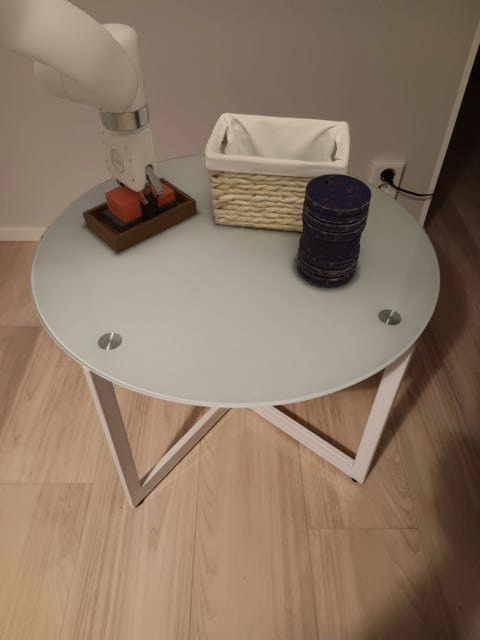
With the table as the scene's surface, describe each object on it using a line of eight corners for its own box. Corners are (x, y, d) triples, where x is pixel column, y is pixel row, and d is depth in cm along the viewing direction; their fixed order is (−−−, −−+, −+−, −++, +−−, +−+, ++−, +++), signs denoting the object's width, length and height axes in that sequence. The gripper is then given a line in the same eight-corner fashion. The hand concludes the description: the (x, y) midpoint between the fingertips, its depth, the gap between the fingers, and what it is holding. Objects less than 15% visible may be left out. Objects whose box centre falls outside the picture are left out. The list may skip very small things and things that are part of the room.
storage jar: (367, 275, 84) (386, 198, 73) (319, 296, 81) (332, 218, 70) (330, 243, 90) (343, 167, 79) (284, 261, 87) (291, 184, 76)
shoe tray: (117, 253, 88) (114, 239, 86) (85, 226, 93) (82, 212, 91) (196, 214, 96) (196, 200, 94) (163, 190, 101) (161, 177, 99)
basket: (205, 227, 93) (200, 153, 82) (221, 180, 104) (220, 109, 93) (336, 241, 90) (349, 166, 80) (339, 191, 101) (351, 119, 91)
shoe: (122, 233, 89) (117, 209, 86) (104, 218, 92) (98, 194, 89) (177, 206, 95) (174, 183, 91) (158, 193, 98) (155, 170, 94)
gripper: (75, 103, 83) (98, 198, 96) (135, 142, 74) (151, 241, 87) (115, 90, 86) (131, 184, 99) (176, 126, 77) (185, 223, 91)
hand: (140, 210), depth 93 cm, fingers closed on shoe, 6 cm apart
